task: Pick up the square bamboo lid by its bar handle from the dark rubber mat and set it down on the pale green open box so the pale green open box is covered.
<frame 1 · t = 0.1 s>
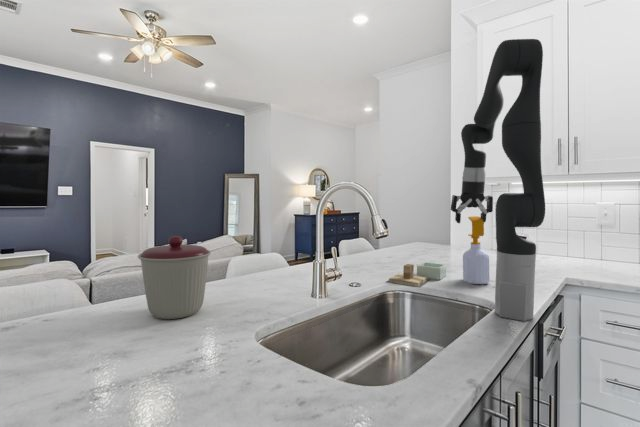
hand: (470, 223, 129), 22 cm above the worktop, tool pointing down, fingers open, 8 cm apart
mat: (408, 282, 129), on the worktop
lid: (408, 280, 129), resting on mat
pale green open box: (431, 277, 137), on the worktop
canister: (176, 313, 93), on the worktop
soap bottle: (476, 282, 129), on the worktop, touching gripper
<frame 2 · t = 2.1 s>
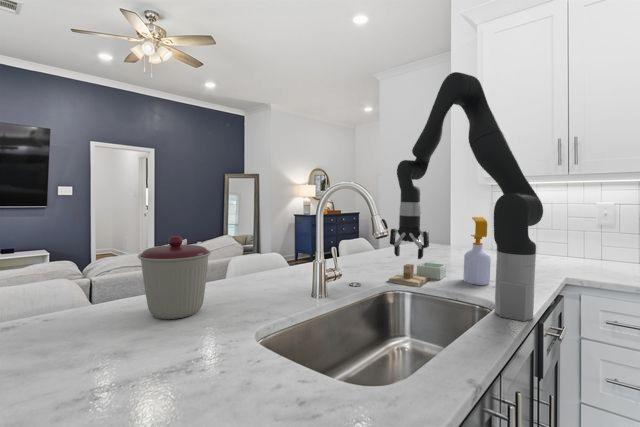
hand: (408, 257, 129), 9 cm above the worktop, tool pointing down, fingers open, 8 cm apart
soap bottle: (476, 282, 129), on the worktop
everything else where it was.
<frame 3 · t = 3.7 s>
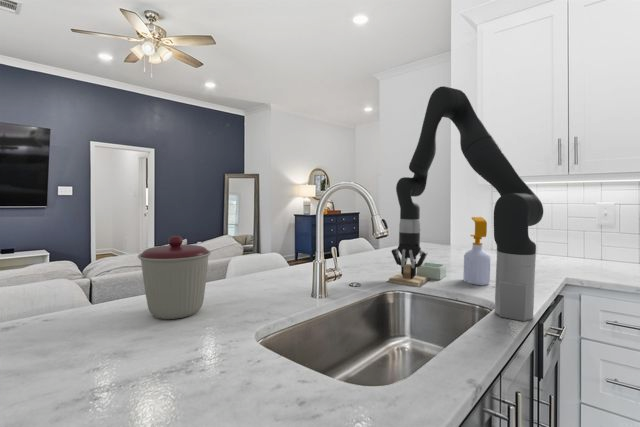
hand: (408, 276, 129), 2 cm above the worktop, tool pointing down, fingers closed on lid, 2 cm apart
lid: (408, 280, 129), resting on mat, touching gripper
everything else where it was.
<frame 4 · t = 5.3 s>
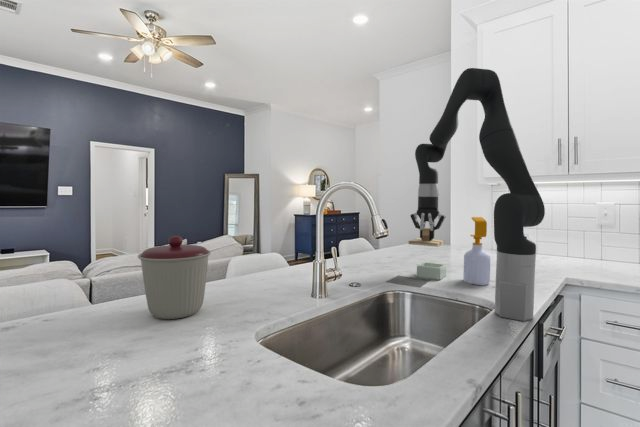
hand: (427, 239, 135), 15 cm above the worktop, tool pointing down, fingers closed on lid, 2 cm apart
lid: (426, 243, 135), point 14 cm above the worktop, touching gripper
everything else where it was.
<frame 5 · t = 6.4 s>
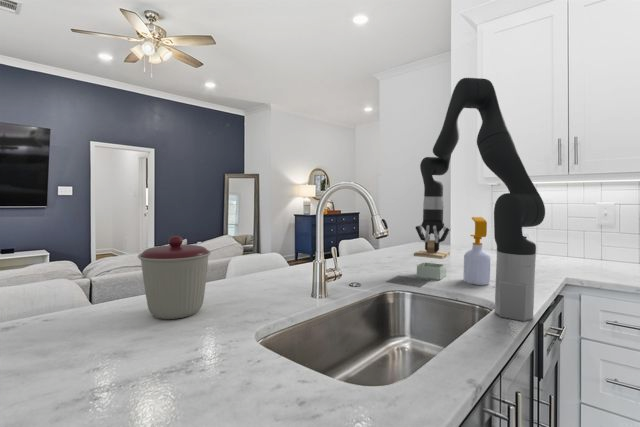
hand: (432, 251, 136), 10 cm above the worktop, tool pointing down, fingers closed on lid, 2 cm apart
lid: (431, 255, 136), point 9 cm above the worktop, touching gripper
everything else where it was.
when the fingers open (8 cm above the worktop, at t = 7.0 s): lid drops 1 cm, resting on pale green open box.
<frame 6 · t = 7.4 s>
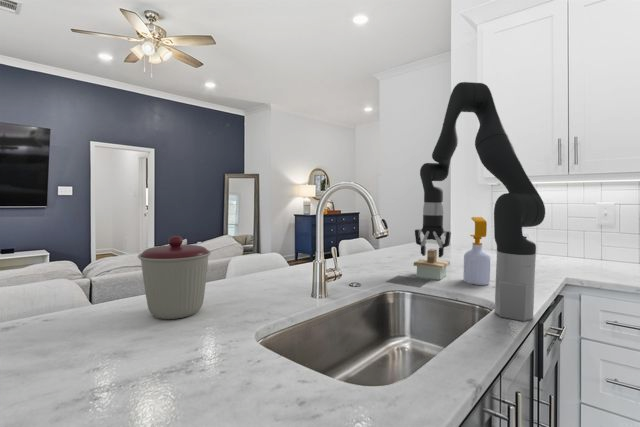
hand: (431, 256, 136), 9 cm above the worktop, tool pointing down, fingers open, 6 cm apart
lid: (431, 265, 136), point 5 cm above the worktop, touching pale green open box
everything else where it was.
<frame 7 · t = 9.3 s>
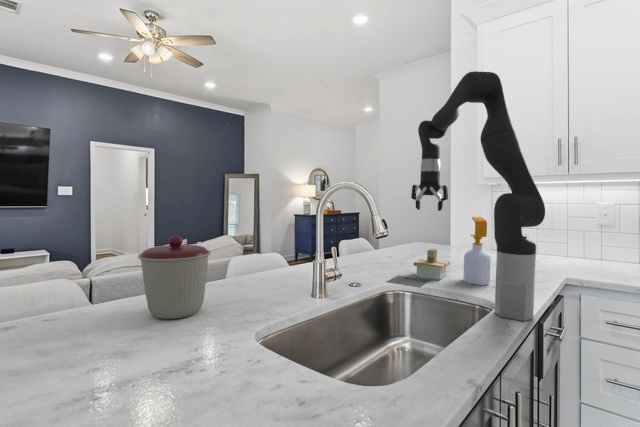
hand: (428, 210, 141), 27 cm above the worktop, tool pointing down, fingers open, 8 cm apart
nothing on the worktop moved.
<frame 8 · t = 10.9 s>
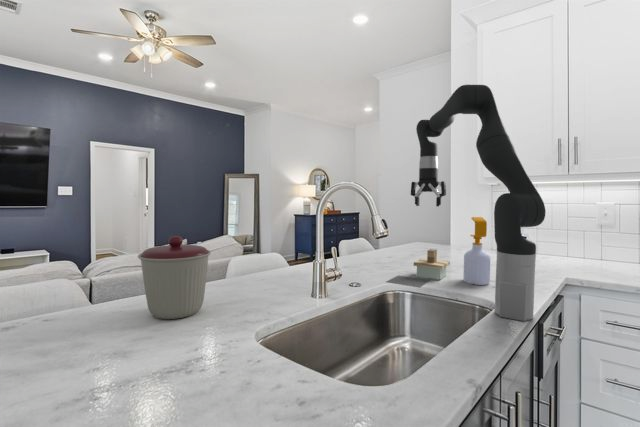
hand: (427, 206, 146), 28 cm above the worktop, tool pointing down, fingers open, 8 cm apart
nothing on the worktop moved.
at the end: lid 0.0 cm off-centre on the pale green open box, point 5.0 cm above the pale green open box's base; lid tilted 0°; the gripper is holding nothing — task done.
